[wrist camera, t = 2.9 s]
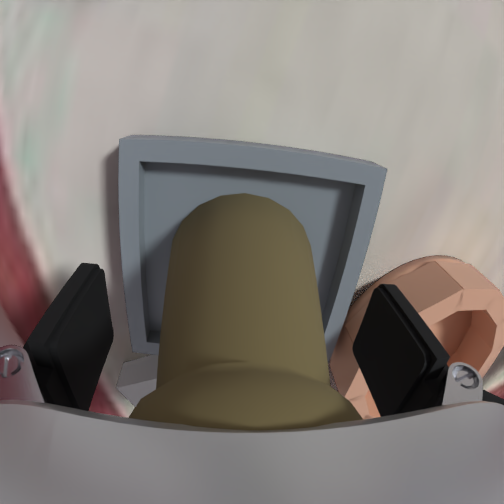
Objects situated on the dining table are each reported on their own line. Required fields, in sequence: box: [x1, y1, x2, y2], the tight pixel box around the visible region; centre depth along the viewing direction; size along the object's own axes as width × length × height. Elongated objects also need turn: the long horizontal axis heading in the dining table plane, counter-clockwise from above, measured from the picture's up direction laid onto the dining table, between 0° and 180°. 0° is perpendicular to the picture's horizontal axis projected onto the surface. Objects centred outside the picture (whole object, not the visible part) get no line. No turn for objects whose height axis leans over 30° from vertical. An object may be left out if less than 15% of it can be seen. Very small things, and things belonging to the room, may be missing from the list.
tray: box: [118, 135, 387, 363], centre depth 13 cm, size 10×10×2 cm
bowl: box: [330, 255, 504, 419], centre depth 16 cm, size 11×11×4 cm
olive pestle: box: [129, 193, 363, 431], centre depth 8 cm, size 6×6×11 cm
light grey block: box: [116, 355, 158, 407], centre depth 16 cm, size 4×3×2 cm
